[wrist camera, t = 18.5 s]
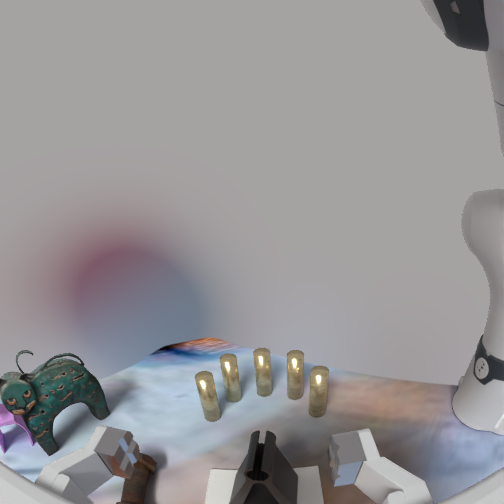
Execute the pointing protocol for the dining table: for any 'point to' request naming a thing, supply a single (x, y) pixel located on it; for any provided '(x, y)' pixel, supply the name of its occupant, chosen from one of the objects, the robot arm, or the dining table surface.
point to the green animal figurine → (51, 395)
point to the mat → (224, 480)
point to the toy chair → (4, 417)
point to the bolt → (138, 480)
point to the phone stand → (264, 475)
